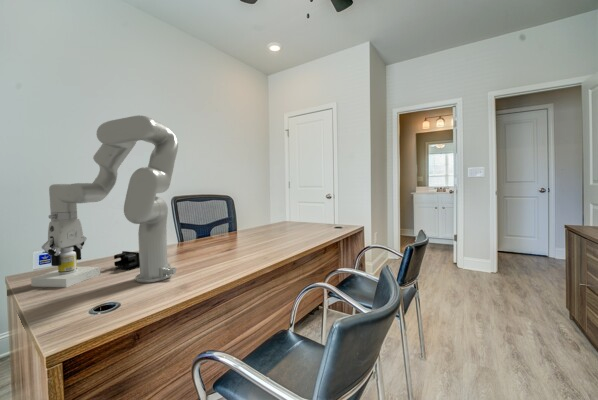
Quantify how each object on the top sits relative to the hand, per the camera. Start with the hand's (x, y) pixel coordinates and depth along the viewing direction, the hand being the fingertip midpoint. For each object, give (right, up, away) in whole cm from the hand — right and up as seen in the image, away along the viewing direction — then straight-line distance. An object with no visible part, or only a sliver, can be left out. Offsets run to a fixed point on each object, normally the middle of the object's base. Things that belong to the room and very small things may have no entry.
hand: (67, 262), depth 101 cm
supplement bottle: (0, -4, 0) cm, 4 cm away
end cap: (+14, -6, +16) cm, 22 cm away
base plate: (0, -7, 0) cm, 7 cm away
